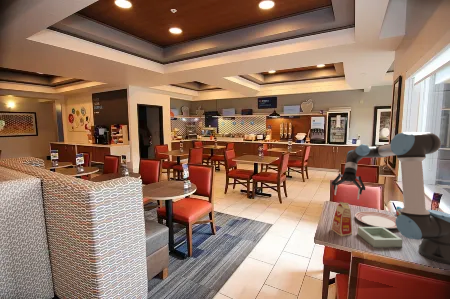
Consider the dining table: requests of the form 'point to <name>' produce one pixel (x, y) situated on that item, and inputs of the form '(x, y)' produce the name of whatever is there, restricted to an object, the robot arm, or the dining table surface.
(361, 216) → the dinner plate
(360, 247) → the dining table surface
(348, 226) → the milk carton
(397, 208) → the yogurt
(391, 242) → the carton caddy
